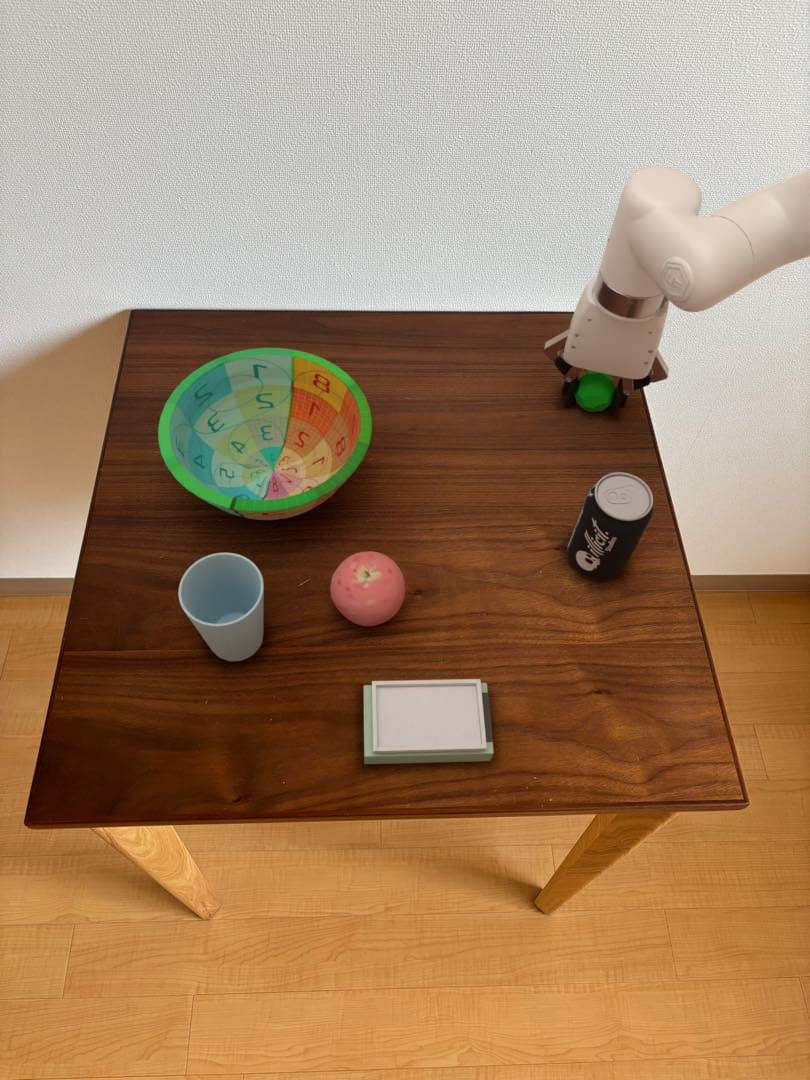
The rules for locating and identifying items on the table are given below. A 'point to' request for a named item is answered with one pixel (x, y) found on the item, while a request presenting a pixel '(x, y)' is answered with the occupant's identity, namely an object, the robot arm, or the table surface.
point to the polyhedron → (595, 391)
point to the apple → (368, 588)
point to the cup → (225, 604)
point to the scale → (427, 721)
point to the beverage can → (610, 526)
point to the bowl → (265, 432)
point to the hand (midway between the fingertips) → (591, 401)
